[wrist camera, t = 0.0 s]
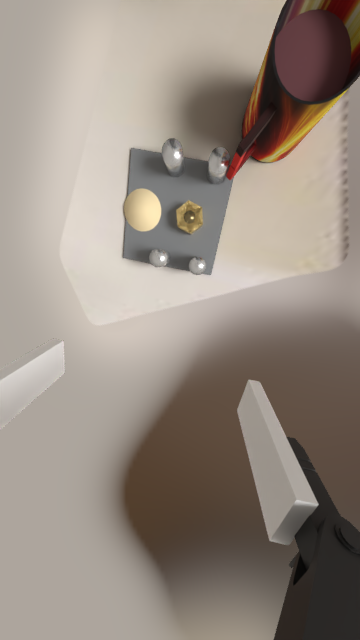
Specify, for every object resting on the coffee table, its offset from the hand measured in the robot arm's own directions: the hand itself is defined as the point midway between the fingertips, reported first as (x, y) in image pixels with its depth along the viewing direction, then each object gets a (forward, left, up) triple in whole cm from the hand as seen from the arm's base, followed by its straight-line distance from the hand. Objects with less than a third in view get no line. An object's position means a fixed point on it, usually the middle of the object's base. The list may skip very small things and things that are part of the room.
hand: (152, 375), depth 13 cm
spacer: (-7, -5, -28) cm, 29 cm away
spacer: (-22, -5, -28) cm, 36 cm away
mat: (-14, -4, -28) cm, 32 cm away
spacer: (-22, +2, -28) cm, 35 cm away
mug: (-27, +9, -28) cm, 40 cm away
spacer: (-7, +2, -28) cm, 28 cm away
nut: (-14, -1, -28) cm, 31 cm away
